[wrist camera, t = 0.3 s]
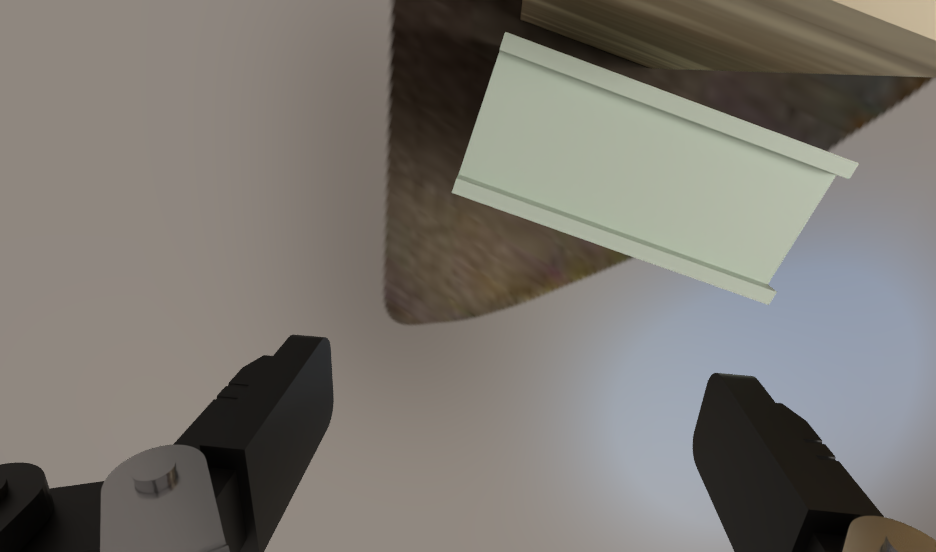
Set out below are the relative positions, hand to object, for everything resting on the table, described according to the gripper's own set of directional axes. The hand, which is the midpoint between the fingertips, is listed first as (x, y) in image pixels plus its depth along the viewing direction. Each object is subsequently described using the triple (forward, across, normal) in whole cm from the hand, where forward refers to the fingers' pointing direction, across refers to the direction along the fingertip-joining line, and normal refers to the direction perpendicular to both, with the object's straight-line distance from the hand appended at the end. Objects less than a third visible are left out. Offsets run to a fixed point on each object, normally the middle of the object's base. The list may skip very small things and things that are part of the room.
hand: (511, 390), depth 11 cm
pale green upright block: (+32, -5, -3) cm, 32 cm away
